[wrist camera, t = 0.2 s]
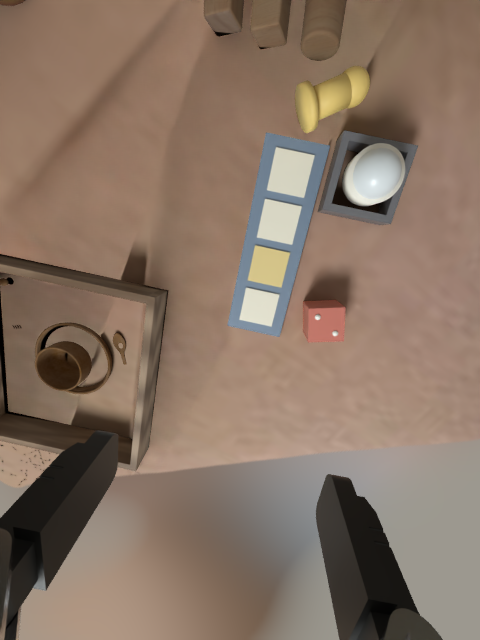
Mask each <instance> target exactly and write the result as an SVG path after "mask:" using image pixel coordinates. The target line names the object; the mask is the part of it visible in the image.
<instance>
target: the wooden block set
mask: <svg viewBox="0 0 480 640" xmlns="http://www.w3.org/2000/svg"><path fill="white" fill-rule="evenodd" d="M346 1H347V0H306V5H305V13H304V21H303V29H302V37H301V50H302V53H303V54H304V55H305V56H306V57H307V58H309V59H311V60H315V61H322V60H326V59H329V58H331V57H332V56H333V55H334V54H335V53H336V52H337V50H338V48H339V46H340V39H341V33H342V26H343V20H344V14H345V7H346ZM243 6H244V0H204V17H205V19H206V21H207V22H208V24H209V25H210V27H211V28H212V30H213V31H214V32H215V34H216V35H217V36H219V37H220V36H224V35H229V34H233V33H238V32H241V30H242V21H243ZM290 6H291V0H252V13H251V26H250V30H251V33H252V35H253V37H254V39H255V41H256V43H257V44H258V46H259V48H260V49H266V48H271V47H277V46H282V45H285V44H286V42H287V33H288V24H289V15H290Z"/></svg>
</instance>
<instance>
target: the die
mask: <svg viewBox="0 0 480 640" xmlns="http://www.w3.org/2000/svg"><path fill="white" fill-rule="evenodd" d="M345 308H346V307H344V306H343V305H342V304H341V303H339V302H338V301H337V300H319V301H303V332H304V334H305V336H306V339H307V341H308V342H335V341H344V327H345Z"/></svg>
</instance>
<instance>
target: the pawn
mask: <svg viewBox="0 0 480 640" xmlns="http://www.w3.org/2000/svg"><path fill="white" fill-rule="evenodd" d="M369 86H370V78H369V74H368V72H367V71H366V70H365V69H364V68H363V67H361V66H353V67H350V68H348V69H347V70H345V71H344V72H343V73H342V74H340V75H338V76H336V77H333V78H331V79H329V80H327V81H325V82H322V83H320V84H318V85H316V86H312V84H311V83H310V82H309V81H304V82H302V83H300V84H298V85H297V87H296V91H295V106H296V113H297V117H298V121H299V124H300V126H301V128H302V130H303V131H304V132H305V133H309V132H311V131H313V130H315V129H316V128H317V125H318V120H320V119H323V118H325V117H327V116H330V115H332V114H334V113H336V112H339V111H341V110H343V109H346V108H353V107H355V106H357V105H359V104H360V103H361V102H362V101H363V100H364V98H365V97H366V95H367V93H368V90H369Z"/></svg>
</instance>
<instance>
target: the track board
mask: <svg viewBox="0 0 480 640" xmlns="http://www.w3.org/2000/svg"><path fill="white" fill-rule="evenodd" d="M329 148H330V146H329V145H324V144H319V143H314V142H309V141H305V140H300V139H295V138H290V137H285V136H281V135H276V134H271V133H266V136H265V141H264V146H263V151H262V156H261V161H260V166H259V171H258V176H257V181H256V186H255V191H254V196H253V201H252V206H251V211H250V216H249V221H248V226H247V231H246V236H245V241H244V246H243V251H242V256H241V261H240V266H239V271H238V276H237V281H236V286H235V291H234V296H233V301H232V306H231V311H230V316H229V321H228V326H231V327H236V328H241V329H245V330H250V331H254V332H259V333H264V334H268V335H273V336H277V337H279V336H280V333H281V329H282V325H283V321H284V318H285V314H286V310H287V306H288V302H289V299H290V295H291V291H292V287H293V284H294V280H295V276H296V272H297V268H298V265H299V261H300V257H301V253H302V250H303V246H304V242H305V238H306V234H307V231H308V227H309V223H310V219H311V216H312V212H313V208H314V204H315V201H316V197H317V193H318V189H319V185H320V182H321V178H322V174H323V170H324V167H325V163H326V159H327V155H328V151H329Z"/></svg>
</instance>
